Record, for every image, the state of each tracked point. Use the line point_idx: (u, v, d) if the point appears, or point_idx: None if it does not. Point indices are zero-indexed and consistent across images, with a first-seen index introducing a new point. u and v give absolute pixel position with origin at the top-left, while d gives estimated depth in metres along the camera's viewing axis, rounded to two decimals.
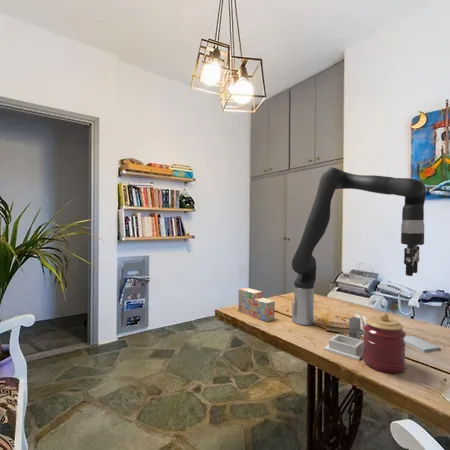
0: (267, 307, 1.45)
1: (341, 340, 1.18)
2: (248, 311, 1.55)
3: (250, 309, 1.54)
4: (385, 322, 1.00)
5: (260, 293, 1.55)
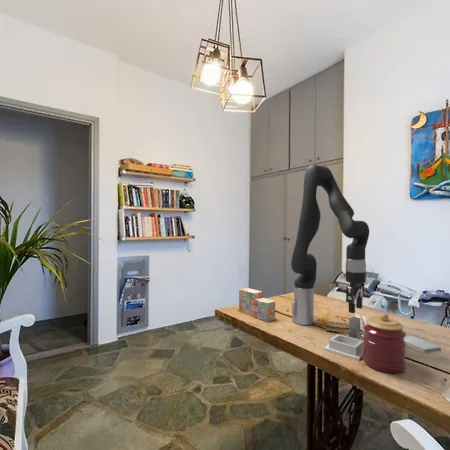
0: (268, 307, 1.45)
1: (341, 340, 1.18)
2: (248, 311, 1.55)
3: (250, 309, 1.54)
4: (385, 322, 1.00)
5: (261, 293, 1.55)
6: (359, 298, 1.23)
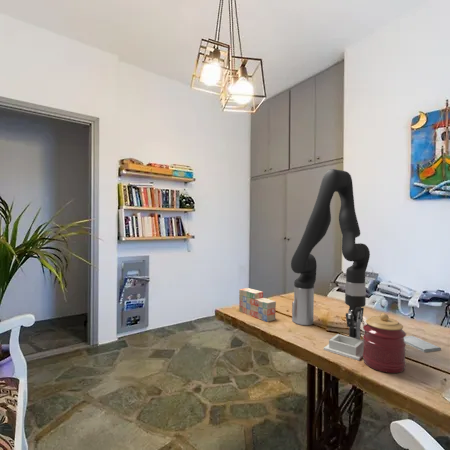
0: (268, 308, 1.45)
1: (341, 340, 1.18)
2: (249, 311, 1.55)
3: (251, 309, 1.54)
4: (385, 322, 1.00)
5: (261, 293, 1.55)
6: None
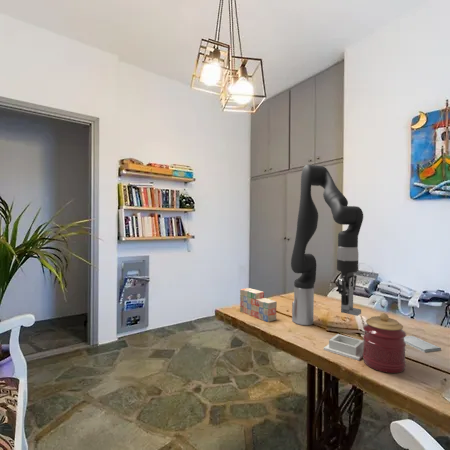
0: (269, 308, 1.45)
1: (341, 340, 1.18)
2: (250, 311, 1.55)
3: (252, 309, 1.54)
4: (385, 322, 1.00)
5: (262, 293, 1.55)
6: None
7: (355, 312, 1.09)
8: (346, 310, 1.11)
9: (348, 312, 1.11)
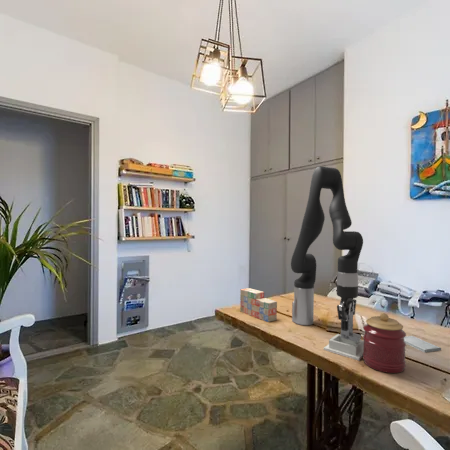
0: (269, 308, 1.45)
1: (341, 340, 1.18)
2: (250, 311, 1.55)
3: (252, 309, 1.53)
4: (385, 322, 1.00)
5: (262, 293, 1.55)
6: None
7: (355, 338, 1.09)
8: (346, 335, 1.12)
9: (348, 338, 1.11)
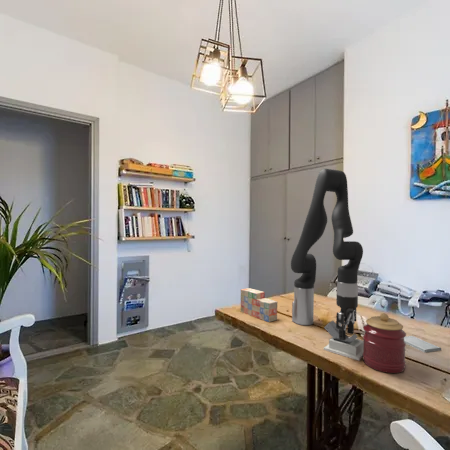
0: (270, 308, 1.45)
1: None
2: (250, 311, 1.55)
3: (252, 309, 1.53)
4: (385, 322, 1.00)
5: (262, 293, 1.54)
6: (350, 323, 1.16)
7: (350, 338, 1.11)
8: None
9: None
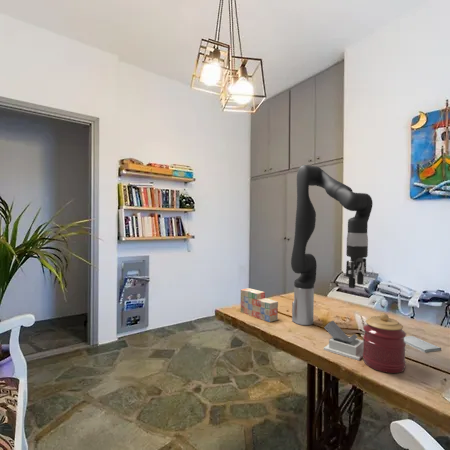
0: (271, 308, 1.45)
1: None
2: (251, 311, 1.54)
3: (253, 309, 1.53)
4: (385, 322, 1.00)
5: (263, 293, 1.54)
6: (360, 274, 1.19)
7: (350, 338, 1.11)
8: None
9: None
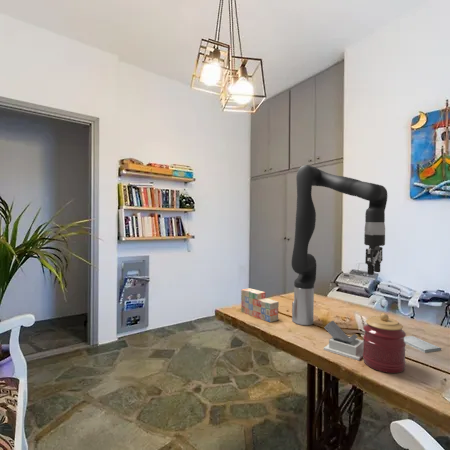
0: (271, 308, 1.45)
1: None
2: (251, 311, 1.54)
3: (253, 309, 1.53)
4: (385, 322, 1.00)
5: (263, 293, 1.54)
6: (377, 262, 1.24)
7: (350, 338, 1.11)
8: None
9: None
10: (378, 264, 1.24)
